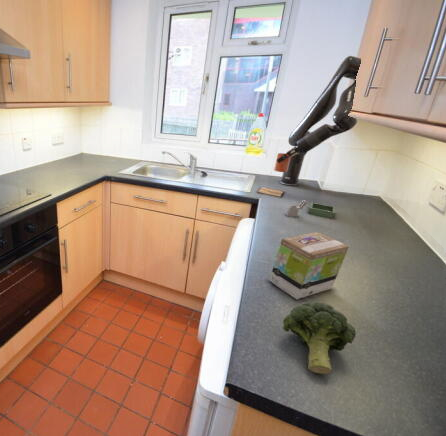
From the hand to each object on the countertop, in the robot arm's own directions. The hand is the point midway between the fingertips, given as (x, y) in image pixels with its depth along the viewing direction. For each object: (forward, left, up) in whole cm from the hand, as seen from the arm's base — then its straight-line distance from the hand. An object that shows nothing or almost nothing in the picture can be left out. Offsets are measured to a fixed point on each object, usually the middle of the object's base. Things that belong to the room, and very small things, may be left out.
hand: (279, 160), depth 163 cm
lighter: (+31, +15, -19) cm, 40 cm away
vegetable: (+120, +28, -19) cm, 125 cm away
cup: (0, +2, -5) cm, 6 cm away
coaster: (-2, -1, -19) cm, 19 cm away
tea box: (+93, +23, -19) cm, 98 cm away
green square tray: (+18, +25, -19) cm, 36 cm away
